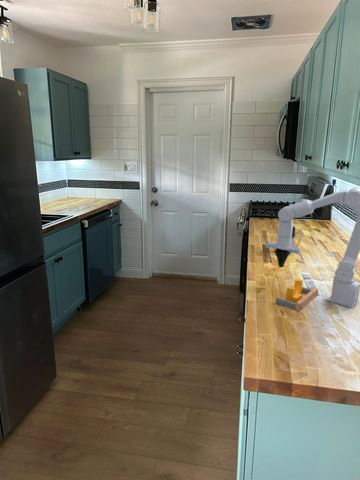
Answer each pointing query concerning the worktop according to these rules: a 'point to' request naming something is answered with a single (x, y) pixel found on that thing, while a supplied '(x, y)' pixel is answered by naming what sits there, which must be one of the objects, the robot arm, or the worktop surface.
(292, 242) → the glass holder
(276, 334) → the worktop surface
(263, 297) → the worktop surface
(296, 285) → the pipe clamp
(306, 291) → the stop frame
